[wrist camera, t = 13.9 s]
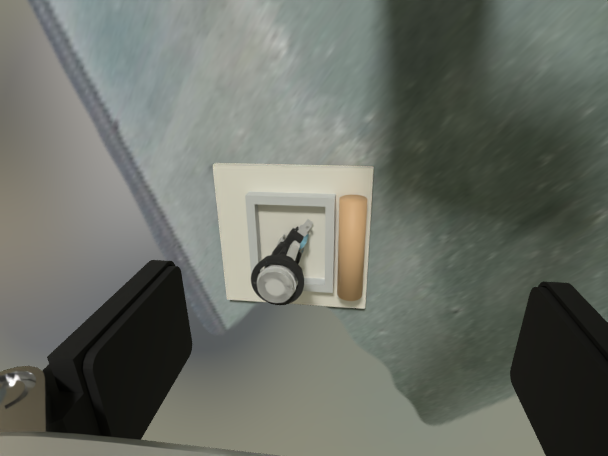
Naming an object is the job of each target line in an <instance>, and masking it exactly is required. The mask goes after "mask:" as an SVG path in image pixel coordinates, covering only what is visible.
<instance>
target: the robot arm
mask: <svg viewBox="0 0 608 456" xmlns="http://www.w3.org/2000/svg"><path fill="white" fill-rule="evenodd" d="M191 350H192V338H191V332H190V326H189V320H188V313H187V307H186V300H185V294H184V288H183V281H182V275H181V270H180V268H179V267H178V266H175V264H174V262H172V261H161V260H151V261H149V262H148V263H147V264H146V265H145V266H144V267H143V268H142V269H141V270H140V271H139V272H138V273H137V274H136V275H134V276H133V277H132V278H131V279H130V280H129V281H128V282H127V283H126V284H125V285H124V286H123V287H122V288H120V289H119V290H118V291H117V292H116V293H115V294H114V295H113V296H112V297H111V298H110V299H109V300H108V301H106V302H105V303H104V304H103V305H102V306H101V307H100V308H99V309H98V310H97V311H96V312H95V313H94V314H93V315H92V316H90V317H89V318H88V319H87V320H86V321H85V322H84V323H83V324H82V325H81V326H80V327H79V328H78V329H77V330H75V331H74V332H73V333H72V334H71V335H70V336H69V337H68V338H67V339H66V340H65V341H64V342H63V343H62V344H60V346H58V347H57V348H56V349H55V350H54V351H53V352H52V353H51V354H50V355H49V356H48V357H47V358H48V361H49V365H48V366H47V367H46V368H45V369H44V370H43V371H42V370H40V369H39V368H37V367H32V366H21V367H14V368H10V369H7V370H3V371H1V372H0V456H277V455H270V454H261V453H252V452H244V451H235V450H226V449H217V448H209V447H200V446H191V445H181V444H173V443H165V442H156V441H147V440H141V438H142V437H143V435H144V433H145V431H146V430H147V428H148V426H149V424H150V423H151V421H152V419H153V417H154V416H155V414H156V413H157V411H158V409H159V407H160V406H161V404H162V402H163V401H164V399H165V397H166V396H167V394H168V392H169V390H170V389H171V387H172V385H173V384H174V382H175V380H176V378H177V377H178V375H179V373H180V372H181V370H182V368H183V366H184V365H185V363H186V361H187V359H188V358H189V356H190V354H191ZM510 377H511V382H512V385H513V387H514V389H515V391H516V394H517V396H518V398H519V400H520V402H521V404H522V406H523V408H524V410H525V413H526V415H527V417H528V419H529V421H530V423H531V425H532V427H533V429H534V431H535V434H536V436H537V438H538V440H539V442H540V444H541V446H542V448H543V450H544V453H545V455H546V456H608V323H607V322H606V321H605V320H604V319H603V318H602V317H601V315H600V314H599V313H598V312H597V311H596V310H595V309H594V308H593V307H592V306H591V305H590V304H589V303H588V302H587V301H586V300H585V299H584V298H583V297H582V296H581V295H580V293H579V292H578V291H577V290H576V289H575V288H574V287H573V286H572V285H571V284H569V283H558V282H542V283H540V284H539V286H538V287H533V288H532V290H531V292H530V295H529V299H528V303H527V307H526V311H525V315H524V319H523V323H522V327H521V331H520V334H519V338H518V342H517V346H516V350H515V354H514V358H513V362H512V366H511V370H510Z"/></svg>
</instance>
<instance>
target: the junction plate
mask: <svg viewBox="0 0 608 456" xmlns="http://www.w3.org/2000/svg"><path fill="white" fill-rule="evenodd" d="M213 173H214V182H215V192H216V201H217V210H218V220H219V229H220V238H221V248H222V257H223V266H224V275H225V285H226V294H227V299H228V300H243V301H257V302H266V301H264V300H262V299H261V298H260V297H259V296H258V295H257V294H256V293H255V291H254V290H253V288H252V285H251V274H252V271H253V269H254V267H255V266H256V264H257V263H258V262H260V261H261V260H262V259H264V258H265V257H266V256H270V255H271V254H272V252H273V250H274V249H275V248H276V247H277V244H278V241H279V240H280V238H281V237H282V236H283V234H285V235H284V237H283V239H284V240H285V239H286V237H287V235H288V234H289V232H290V231H291V230H292V228H294V229H295V228H296V227H300V226H301V225H303V224H304V223H305V222H306V220H307V219H309V220H310V221H312V222H313V224H312V227H311V228H310V229H309V231H308V232H307V233H308V239H307V243H306V244H305V246H304V247H303V248H304V251H303V254H302V255H301V259H300V262H299V264H298V265H299V266H300V267H301V268H302V272H303V276H304V288H303V291H302V293H301V295H300V296H299V298H298V299H297V300H295V301H294V302H292V303H289V304H302V305H316V306H317V305H318V306H331V307H346V308H361V309H365V302H366V285H367V269H368V252H369V235H370V219H371V202H372V185H373V166H337V165H288V164H238V163H215V164H214V165H213ZM309 224H310V223H309ZM303 248H302V249H303ZM302 249H301V250H302ZM301 250H300V251H301ZM264 267H265V266H264ZM264 267H263V268H262V269H260V272H261V271H262V270H263V269H264ZM297 285H298V280H297V279H296V286H297Z"/></svg>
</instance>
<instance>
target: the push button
mask: <svg viewBox="0 0 608 456" xmlns="http://www.w3.org/2000/svg"><path fill="white" fill-rule="evenodd" d="M309 223H310V224H309ZM312 224H313V222H312V221H310V220H309V219H307V220H306V222H305V223H304V224H303V225H301V226H300V227H296V228H295V229H294V228H292V230H291V231H290V232H289V234H288V235H287V237H286V239H285V240H284V239H283V237H284V235H285V234H283V236H282V237H281V238H280V240H279V241H278V244H277V247H276V248H275V249H274V250H273V252H272V254H271V255H270V256H266V257H265V258H264V259H262V260H261V261H260V262H258V263H257V264H256V266H255V267H254V269H253V271H252V274H251V285H252V288H253V290H254V291H255V293H256V294H257V295H258V296H259V297H260V298H261V299H262V300H264V301H266V302H268V303H271V304H275V305H286V304H289V303H292V302H294V301H295V300H297V299H298V298H299V296H300V295H301V293H302V291H303V288H304V276H303V272H302V268H301V267H300V266H299V265H298V264H299V262H300V259H301V255H302V254H303V251H304V248H303V247H304V246H305V244H306V243H307V239H308V233H307V232H308V231H309V229H310V228H311V227H312ZM302 248H303V249H302ZM301 249H302V250H301ZM300 250H301V251H300ZM264 266H265V267H264ZM263 267H264V269H263V270H262V271H261V272H260V269H262V268H263ZM296 279H297V280H298V285H297V286H296Z"/></svg>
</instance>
